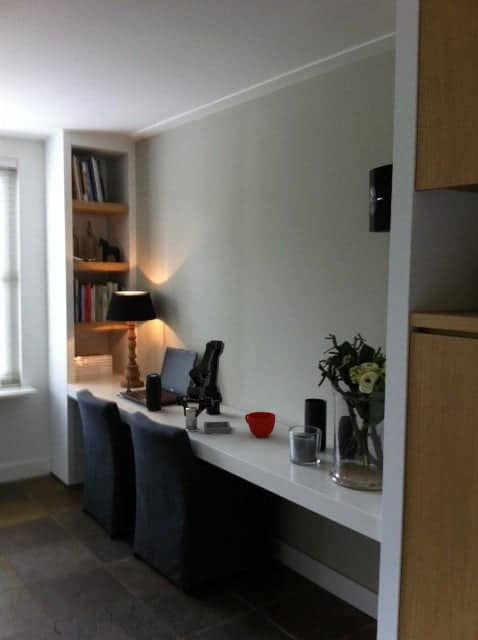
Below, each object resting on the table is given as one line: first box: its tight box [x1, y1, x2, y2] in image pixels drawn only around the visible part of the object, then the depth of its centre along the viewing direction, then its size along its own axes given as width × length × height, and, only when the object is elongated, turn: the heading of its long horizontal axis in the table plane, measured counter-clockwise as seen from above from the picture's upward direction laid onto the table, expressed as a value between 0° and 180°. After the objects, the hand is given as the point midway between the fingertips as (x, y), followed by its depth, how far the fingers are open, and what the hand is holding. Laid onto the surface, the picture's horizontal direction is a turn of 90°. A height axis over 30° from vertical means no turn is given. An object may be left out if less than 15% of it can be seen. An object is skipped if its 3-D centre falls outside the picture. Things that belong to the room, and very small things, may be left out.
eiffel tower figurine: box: [116, 375, 133, 400], centre depth 369 cm, size 15×10×13 cm
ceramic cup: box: [244, 411, 276, 439], centre depth 289 cm, size 13×17×10 cm
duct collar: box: [203, 420, 232, 435], centre depth 297 cm, size 12×12×2 cm
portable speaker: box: [145, 372, 163, 412], centre depth 337 cm, size 9×9×20 cm
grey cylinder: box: [184, 406, 200, 433], centre depth 297 cm, size 7×7×11 cm
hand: (190, 416), depth 295 cm, fingers closed on grey cylinder, 5 cm apart
